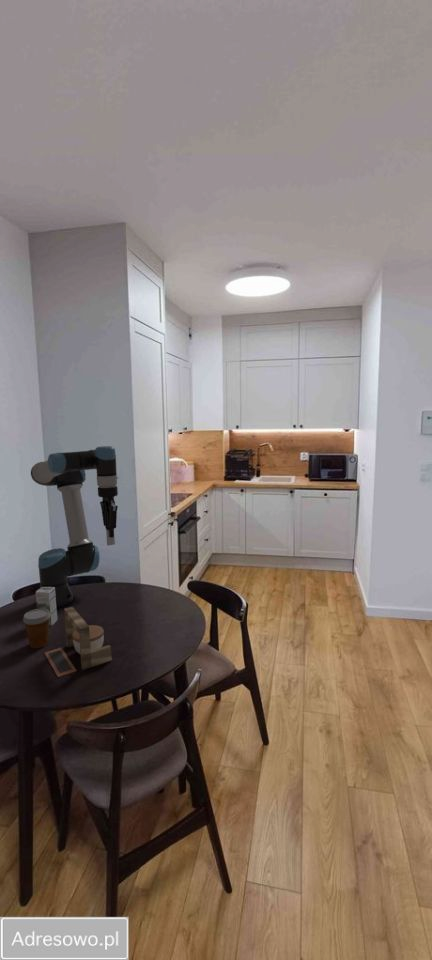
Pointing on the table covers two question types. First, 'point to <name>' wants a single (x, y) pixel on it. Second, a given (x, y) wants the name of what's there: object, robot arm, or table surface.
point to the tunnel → (84, 640)
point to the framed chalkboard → (60, 662)
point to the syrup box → (47, 602)
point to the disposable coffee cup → (37, 627)
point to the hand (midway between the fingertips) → (110, 544)
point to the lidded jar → (95, 638)
